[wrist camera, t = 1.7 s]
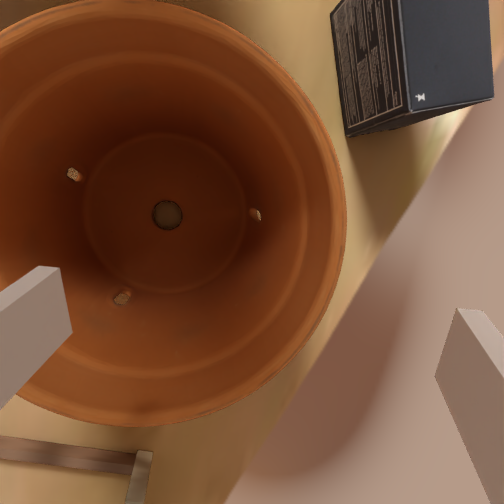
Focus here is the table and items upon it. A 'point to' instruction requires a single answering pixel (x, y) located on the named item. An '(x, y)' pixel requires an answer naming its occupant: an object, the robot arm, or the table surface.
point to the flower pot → (155, 191)
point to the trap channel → (83, 461)
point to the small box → (410, 60)
